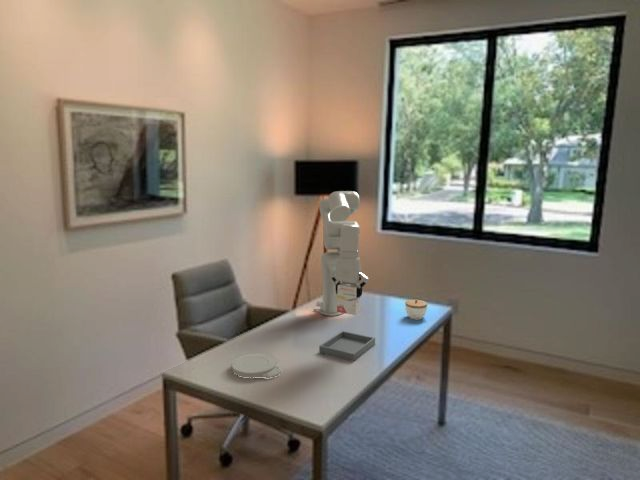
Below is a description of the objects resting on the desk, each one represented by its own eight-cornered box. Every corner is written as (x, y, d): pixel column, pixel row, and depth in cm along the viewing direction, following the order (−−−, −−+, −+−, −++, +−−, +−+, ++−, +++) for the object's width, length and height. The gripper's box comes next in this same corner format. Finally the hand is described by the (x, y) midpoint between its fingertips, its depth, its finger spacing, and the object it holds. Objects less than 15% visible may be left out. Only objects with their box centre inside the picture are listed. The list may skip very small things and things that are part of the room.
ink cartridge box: (336, 312, 201) (336, 278, 198) (341, 308, 205) (341, 275, 202) (355, 315, 197) (356, 280, 194) (360, 311, 202) (360, 277, 199)
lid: (263, 386, 172) (263, 378, 171) (221, 373, 182) (221, 365, 181) (291, 368, 186) (291, 361, 185) (251, 356, 196) (251, 349, 196)
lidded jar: (429, 316, 244) (430, 298, 242) (421, 322, 235) (422, 304, 233) (409, 312, 250) (410, 295, 248) (401, 318, 241) (402, 300, 239)
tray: (319, 352, 200) (319, 345, 199) (342, 337, 217) (342, 330, 216) (353, 361, 192) (354, 354, 191) (375, 344, 209) (375, 337, 208)
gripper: (326, 253, 198) (325, 294, 201) (364, 258, 189) (363, 300, 192) (335, 250, 204) (334, 289, 207) (372, 255, 195) (371, 296, 199)
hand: (348, 294), depth 200 cm, fingers closed on ink cartridge box, 9 cm apart
